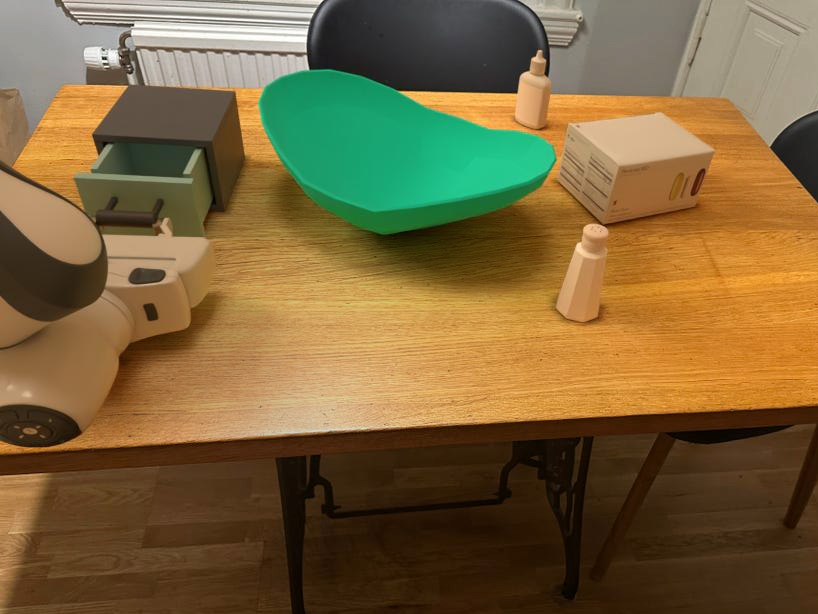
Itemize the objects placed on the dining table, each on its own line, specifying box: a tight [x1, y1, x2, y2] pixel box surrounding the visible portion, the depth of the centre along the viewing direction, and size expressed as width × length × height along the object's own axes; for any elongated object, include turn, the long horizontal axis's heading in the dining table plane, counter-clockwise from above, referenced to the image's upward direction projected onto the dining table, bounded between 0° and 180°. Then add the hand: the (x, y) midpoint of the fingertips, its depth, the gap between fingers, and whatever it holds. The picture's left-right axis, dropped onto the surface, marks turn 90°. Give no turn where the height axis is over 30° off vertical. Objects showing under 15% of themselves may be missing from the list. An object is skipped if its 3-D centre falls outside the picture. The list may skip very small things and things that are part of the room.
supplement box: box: [556, 111, 716, 225], centre depth 101 cm, size 17×13×9 cm
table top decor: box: [257, 68, 558, 236], centre depth 90 cm, size 40×28×13 cm
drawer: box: [73, 142, 215, 239], centre depth 84 cm, size 18×13×8 cm
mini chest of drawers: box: [91, 83, 246, 212], centre depth 92 cm, size 15×14×10 cm
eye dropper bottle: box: [514, 49, 552, 130], centre depth 115 cm, size 4×6×12 cm
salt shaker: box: [555, 223, 610, 323], centre depth 79 cm, size 5×5×11 cm
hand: (130, 221), depth 77 cm, fingers closed on drawer, 6 cm apart
